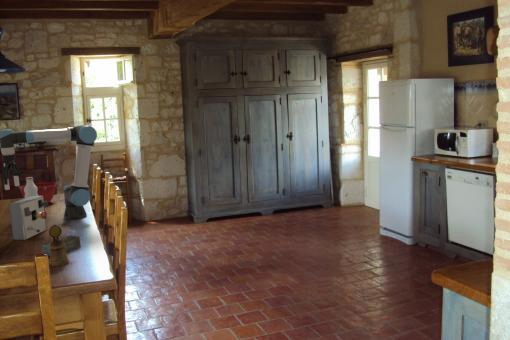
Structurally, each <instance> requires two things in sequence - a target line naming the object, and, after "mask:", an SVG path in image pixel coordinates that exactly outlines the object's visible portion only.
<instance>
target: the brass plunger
mask: <svg viewBox="0 0 510 340" xmlns="http://www.w3.org/2000/svg"><path fill="white" fill-rule="evenodd" d="M31 215H32V218H42V219H46V220H47V218H48V213H47V211H46V210H45V211H42V212H41V213H31Z"/></svg>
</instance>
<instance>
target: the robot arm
mask: <svg viewBox="0 0 510 340" xmlns="http://www.w3.org/2000/svg"><path fill="white" fill-rule="evenodd" d="M97 138H98V133H97V131H96V129H95V127H94V126H92V125H89V124H87V125H86V124H85V125H82V124H81V125H77V126H68V127H66V128H57V129H35V130H34V129H32V130H16V131H14V132H13V130H12V129H11V128H10V129H1V130H0V152H1V154H2V155H1V159H2V161H3V162H2V168H1V169H2V170H1V177H0V179H1V180H3V185H4V190H5V191H8V190H9V191H10V189H11V188H10V179H9V176H10V171H11V172H12V174H13V181H14V182H13V183H14V187H20V178H19V177H20V176H21V172H20V169H19V167H18V164H17V160H16V152H15V145H22V144H30V143H35V142H38V143H39V142H47V141H48V142H51V141H52V142H53V141H68V142H75V146H76V147H77V151H76V158H75V159H76V160H75V168H74V178H73V182H72V183H71V184H69V185H65V186H63V195H64V205H65V209H64V213H63V219H64V220H68V221H69V220H70V221H72V220H81V219H85V218H87V217H88V215H87V212H86V209H85V206H86V205H87V204H88V203H89V202H90V199H91V195H90V193H89V191H90V190H89V189H90V185H88V181H89V179H88V178H89V172H90V171H89V169H90V161H91V153H92V152H91V151H92V148H94V146H95V141H96V140H97Z"/></svg>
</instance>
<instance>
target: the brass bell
mask: <svg viewBox="0 0 510 340" xmlns="http://www.w3.org/2000/svg"><path fill="white" fill-rule="evenodd" d="M48 235H49V236H50V237H51V238H52V240H53V241H50V242H51V244H50V256H49V259H50V260H49V265H50V266H51V267H60V266H64V265H67V264H69V258H68V254H67V252H66V251H65V245H64V242H63V240H59V239H60V236H61V235H62V228H61V227H60V226H59V225H57V224H53V225H52V226H50V227H49V229H48Z"/></svg>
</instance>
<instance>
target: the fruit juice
mask: <svg viewBox="0 0 510 340" xmlns="http://www.w3.org/2000/svg"><path fill="white" fill-rule="evenodd" d="M25 181H26V183H25V185H26V186H25V188H24V192H25V198H27V197H30V196H38V194H37V191H38V189H37V186H36V185H35V184H36V183H35V182H34V177H33V176H28V177H25Z"/></svg>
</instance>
